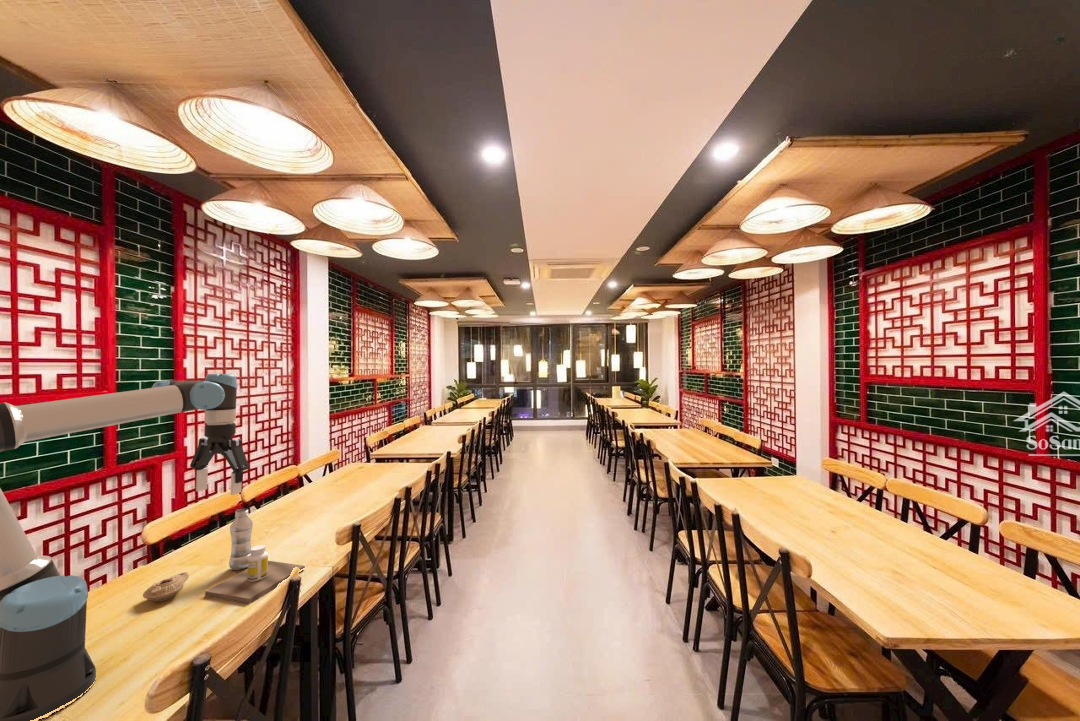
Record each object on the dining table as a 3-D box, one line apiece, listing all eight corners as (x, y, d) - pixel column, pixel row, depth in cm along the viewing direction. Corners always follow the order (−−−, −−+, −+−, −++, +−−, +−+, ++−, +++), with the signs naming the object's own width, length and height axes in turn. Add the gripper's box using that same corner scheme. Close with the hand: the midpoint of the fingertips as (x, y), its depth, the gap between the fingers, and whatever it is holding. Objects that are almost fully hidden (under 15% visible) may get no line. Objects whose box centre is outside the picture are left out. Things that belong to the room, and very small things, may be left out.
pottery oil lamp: (200, 580, 126) (202, 565, 124) (164, 615, 114) (165, 598, 112) (174, 572, 125) (175, 556, 123) (135, 606, 114) (135, 589, 112)
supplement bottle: (266, 571, 130) (267, 542, 130) (268, 578, 126) (269, 547, 126) (246, 577, 126) (247, 547, 126) (248, 584, 122) (248, 552, 122)
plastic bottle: (239, 573, 131) (241, 514, 132) (223, 571, 132) (225, 513, 133) (257, 564, 137) (258, 508, 138) (241, 562, 139) (242, 506, 139)
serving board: (249, 603, 114) (249, 598, 114) (204, 596, 118) (205, 591, 118) (304, 570, 134) (304, 565, 134) (265, 564, 137) (265, 560, 137)
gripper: (264, 422, 121) (262, 490, 120) (202, 420, 126) (200, 485, 126) (240, 426, 113) (238, 498, 113) (176, 423, 119) (174, 492, 118)
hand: (218, 491), depth 119 cm, fingers open, 13 cm apart
